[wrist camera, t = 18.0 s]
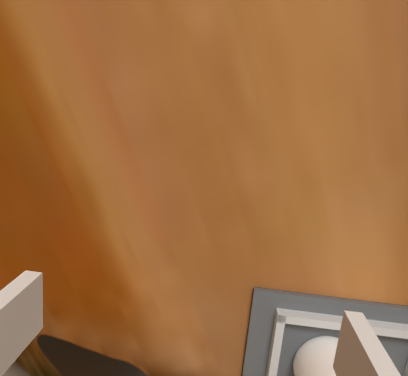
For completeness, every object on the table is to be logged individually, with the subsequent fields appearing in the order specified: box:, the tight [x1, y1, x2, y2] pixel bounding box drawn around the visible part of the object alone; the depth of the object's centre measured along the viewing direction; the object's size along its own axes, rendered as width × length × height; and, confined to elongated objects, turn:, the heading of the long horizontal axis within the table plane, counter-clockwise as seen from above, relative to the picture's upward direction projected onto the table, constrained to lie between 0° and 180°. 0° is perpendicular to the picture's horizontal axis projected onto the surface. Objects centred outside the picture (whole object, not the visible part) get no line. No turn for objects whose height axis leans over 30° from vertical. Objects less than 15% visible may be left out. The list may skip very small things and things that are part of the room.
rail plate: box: [242, 287, 408, 376], centre depth 47 cm, size 24×18×2 cm
